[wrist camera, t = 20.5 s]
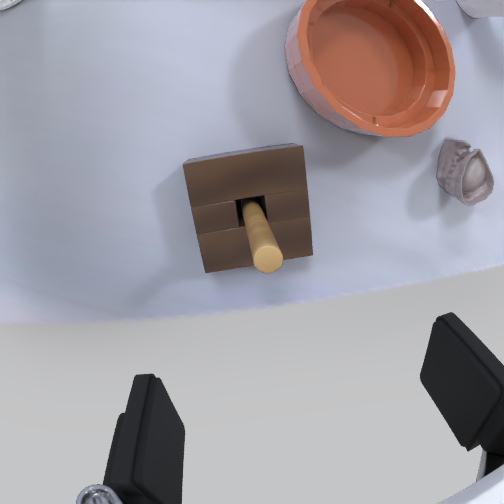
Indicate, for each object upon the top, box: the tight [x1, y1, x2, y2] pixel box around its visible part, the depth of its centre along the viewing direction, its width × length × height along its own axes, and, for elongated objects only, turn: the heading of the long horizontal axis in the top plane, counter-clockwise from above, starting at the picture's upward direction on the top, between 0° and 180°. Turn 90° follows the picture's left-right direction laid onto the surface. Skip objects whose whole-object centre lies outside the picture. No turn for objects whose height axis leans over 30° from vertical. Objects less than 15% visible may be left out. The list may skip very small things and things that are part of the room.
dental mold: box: [436, 138, 494, 206], centre depth 30 cm, size 8×7×5 cm
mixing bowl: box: [285, 0, 455, 137], centre depth 24 cm, size 17×17×6 cm
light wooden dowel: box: [241, 197, 283, 273], centre depth 25 cm, size 2×2×14 cm
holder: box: [183, 143, 313, 273], centre depth 30 cm, size 11×11×4 cm
